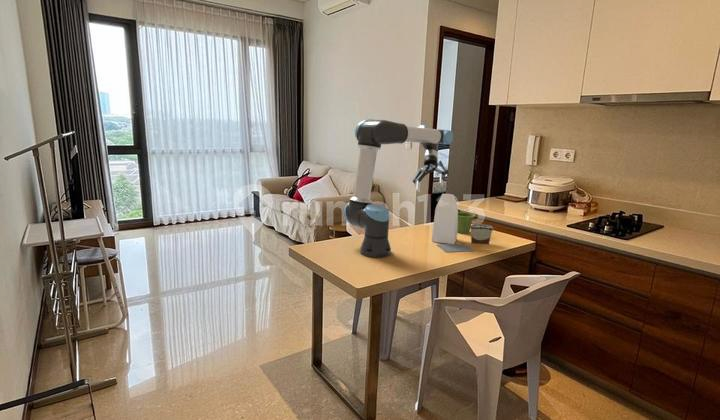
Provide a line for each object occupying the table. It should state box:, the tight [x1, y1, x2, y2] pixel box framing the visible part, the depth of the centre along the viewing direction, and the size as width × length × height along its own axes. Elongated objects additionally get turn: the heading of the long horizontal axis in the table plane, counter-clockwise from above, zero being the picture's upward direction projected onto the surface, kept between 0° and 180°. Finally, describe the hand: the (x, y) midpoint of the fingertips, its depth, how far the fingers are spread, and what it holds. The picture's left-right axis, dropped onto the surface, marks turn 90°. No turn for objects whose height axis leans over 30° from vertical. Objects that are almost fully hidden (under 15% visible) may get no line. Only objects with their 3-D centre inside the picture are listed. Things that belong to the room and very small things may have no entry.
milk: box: [431, 193, 459, 244], centre depth 211 cm, size 12×12×26 cm
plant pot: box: [457, 211, 476, 235], centre depth 230 cm, size 12×12×11 cm
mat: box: [436, 242, 475, 253], centre depth 201 cm, size 16×12×1 cm
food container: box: [470, 223, 494, 246], centre depth 211 cm, size 12×6×10 cm, turn 84°
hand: (429, 187), depth 203 cm, fingers open, 13 cm apart
